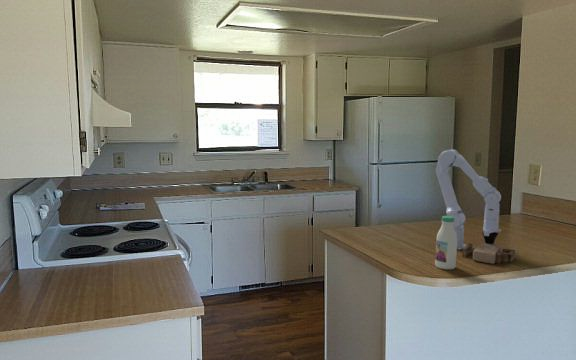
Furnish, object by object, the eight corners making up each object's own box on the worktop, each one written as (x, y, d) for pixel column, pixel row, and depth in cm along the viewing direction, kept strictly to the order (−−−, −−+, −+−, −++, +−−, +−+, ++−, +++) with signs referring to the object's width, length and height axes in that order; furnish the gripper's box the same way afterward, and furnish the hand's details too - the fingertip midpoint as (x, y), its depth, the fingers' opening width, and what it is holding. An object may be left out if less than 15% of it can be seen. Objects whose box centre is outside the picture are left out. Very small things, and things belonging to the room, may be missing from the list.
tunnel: (462, 256, 188) (462, 248, 187) (470, 250, 196) (470, 242, 196) (508, 265, 177) (509, 256, 176) (514, 258, 186) (515, 250, 185)
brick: (479, 251, 195) (480, 241, 195) (500, 255, 191) (501, 244, 190) (471, 261, 182) (472, 250, 181) (494, 265, 177) (494, 254, 176)
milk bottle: (450, 263, 178) (453, 214, 175) (458, 270, 170) (462, 218, 168) (431, 263, 178) (434, 214, 175) (439, 270, 170) (442, 218, 168)
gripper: (497, 222, 184) (495, 254, 186) (505, 216, 195) (502, 246, 197) (479, 220, 188) (477, 251, 190) (488, 214, 200) (486, 244, 202)
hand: (489, 248), depth 194 cm, fingers closed
